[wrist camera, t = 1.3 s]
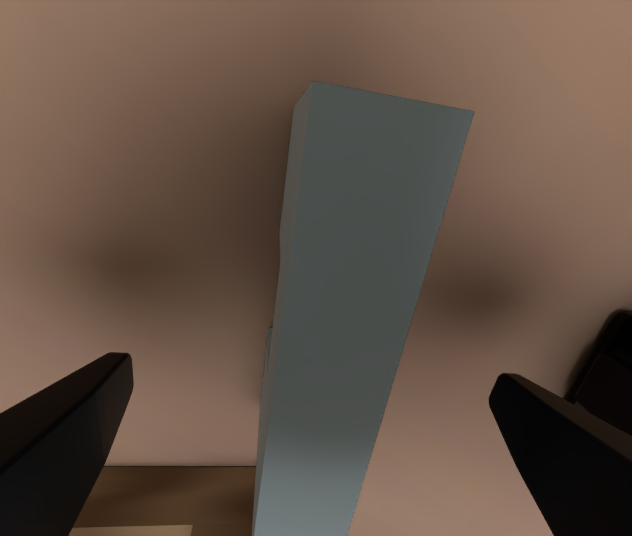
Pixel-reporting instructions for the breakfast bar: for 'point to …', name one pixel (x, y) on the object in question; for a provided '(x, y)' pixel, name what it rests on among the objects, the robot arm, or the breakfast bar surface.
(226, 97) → the breakfast bar surface
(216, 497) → the walnut u-shaped block
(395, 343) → the blue-grey archway
